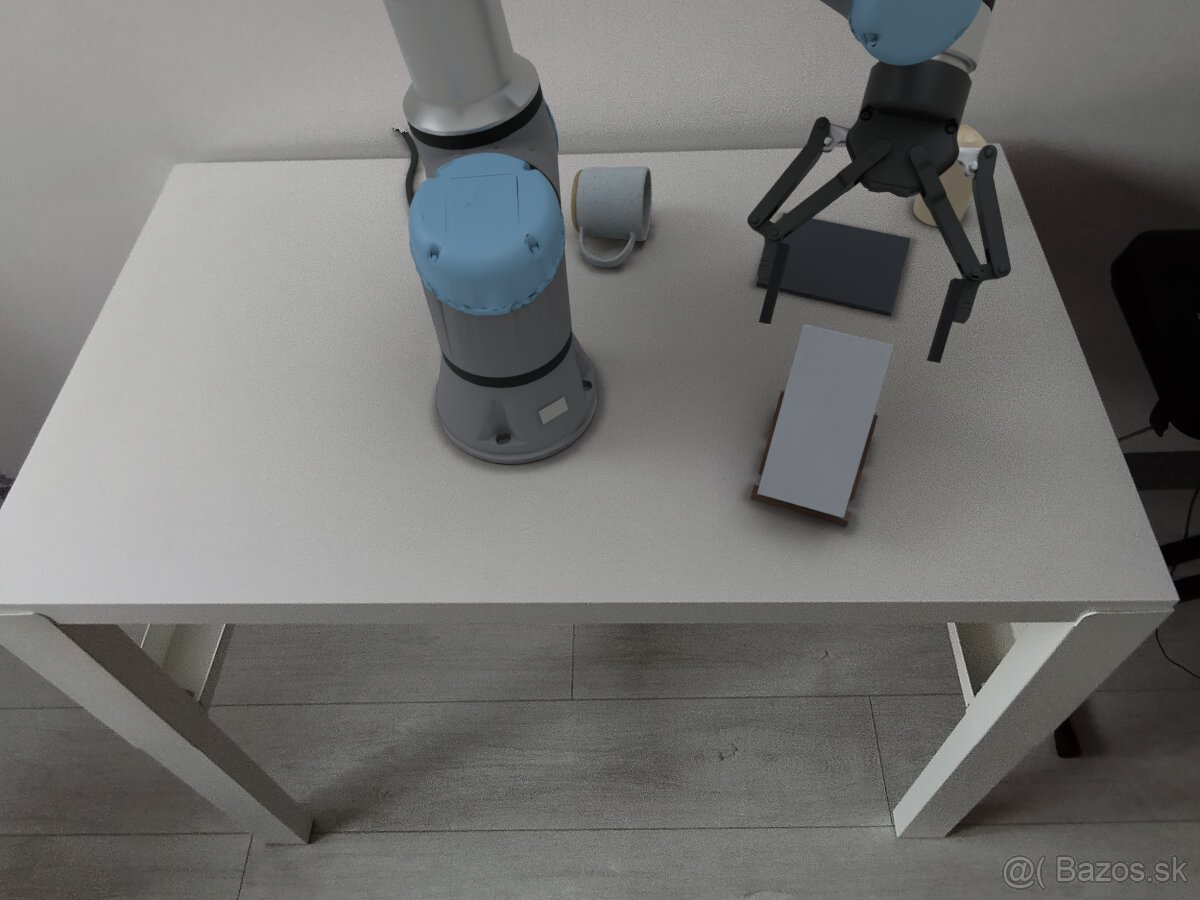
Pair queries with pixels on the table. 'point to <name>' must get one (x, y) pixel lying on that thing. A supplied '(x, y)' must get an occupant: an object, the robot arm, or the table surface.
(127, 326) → the table surface
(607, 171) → the ceramic mug
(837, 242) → the mat
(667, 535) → the table surface
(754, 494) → the phone stand
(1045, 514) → the table surface
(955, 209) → the candle
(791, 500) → the grey box
